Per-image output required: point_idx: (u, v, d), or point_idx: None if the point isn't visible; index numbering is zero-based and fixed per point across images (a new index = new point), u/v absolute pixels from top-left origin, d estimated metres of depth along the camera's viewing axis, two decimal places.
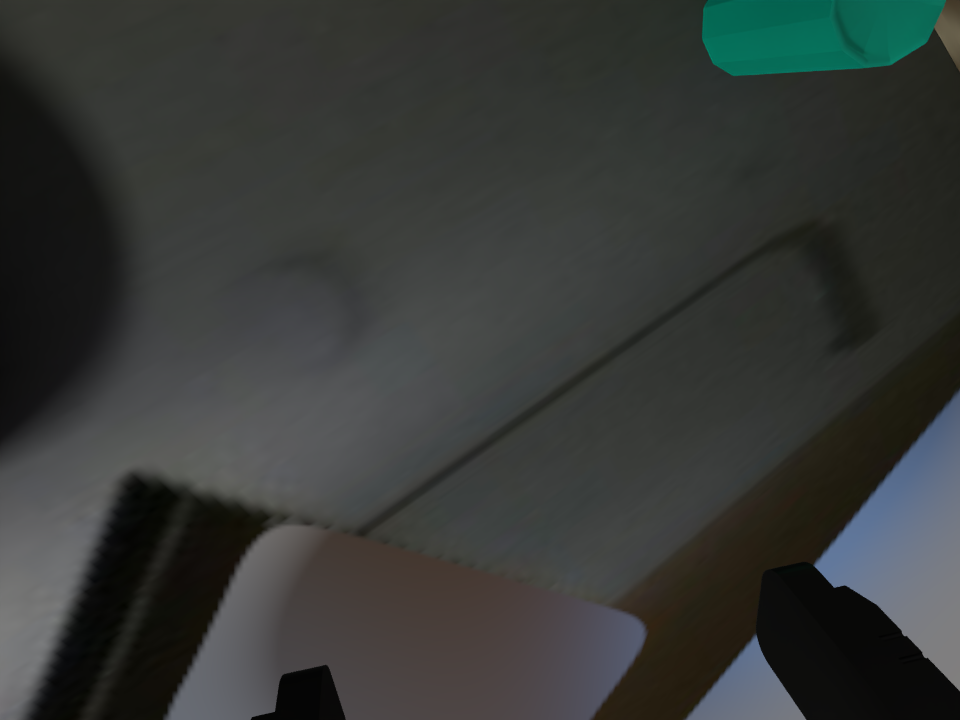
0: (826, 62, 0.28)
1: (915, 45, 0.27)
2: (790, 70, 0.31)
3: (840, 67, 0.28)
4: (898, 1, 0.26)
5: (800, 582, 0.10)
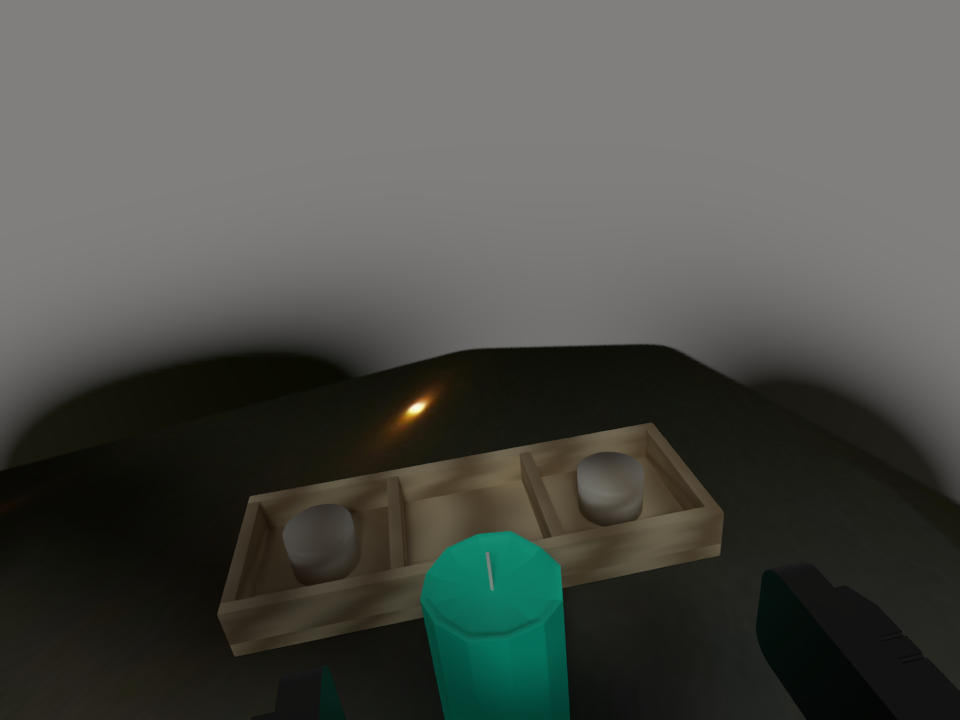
0: (531, 662, 0.24)
1: (556, 575, 0.25)
2: (547, 707, 0.25)
3: (542, 649, 0.24)
4: (508, 580, 0.26)
5: (800, 582, 0.10)
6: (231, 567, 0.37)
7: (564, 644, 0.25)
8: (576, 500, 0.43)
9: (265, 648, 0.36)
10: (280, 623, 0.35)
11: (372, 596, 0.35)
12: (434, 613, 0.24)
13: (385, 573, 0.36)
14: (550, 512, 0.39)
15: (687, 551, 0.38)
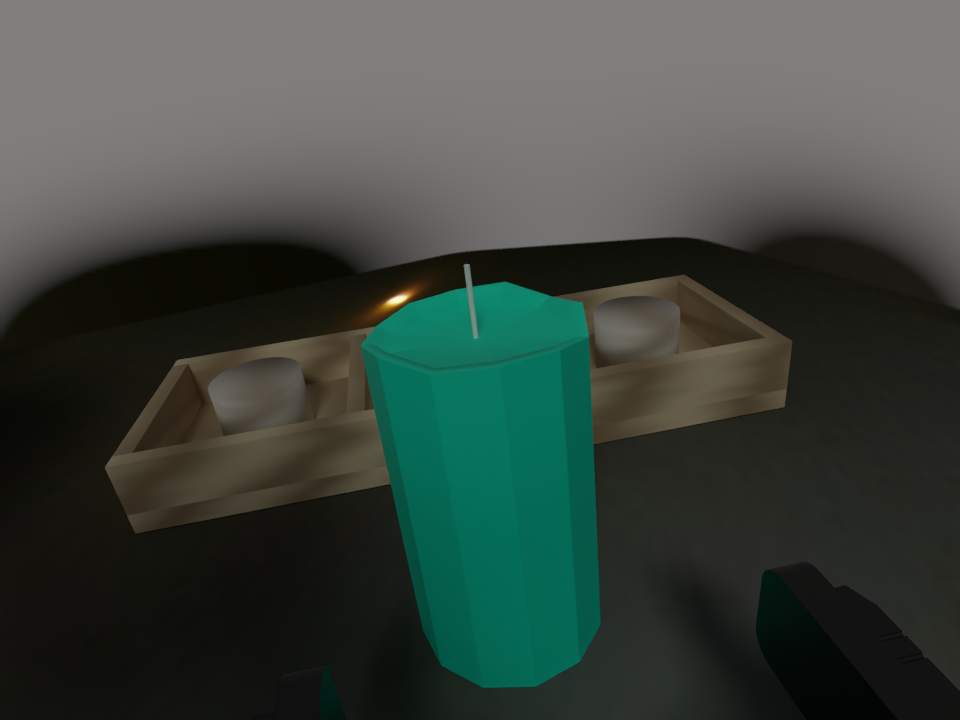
0: (539, 425, 0.14)
1: (577, 311, 0.16)
2: (564, 521, 0.16)
3: (557, 404, 0.14)
4: (502, 328, 0.17)
5: (800, 582, 0.10)
6: (136, 422, 0.28)
7: (590, 423, 0.16)
8: (592, 359, 0.34)
9: (177, 522, 0.26)
10: (195, 484, 0.26)
11: (321, 448, 0.26)
12: (380, 350, 0.15)
13: (339, 417, 0.26)
14: None
15: (742, 399, 0.29)
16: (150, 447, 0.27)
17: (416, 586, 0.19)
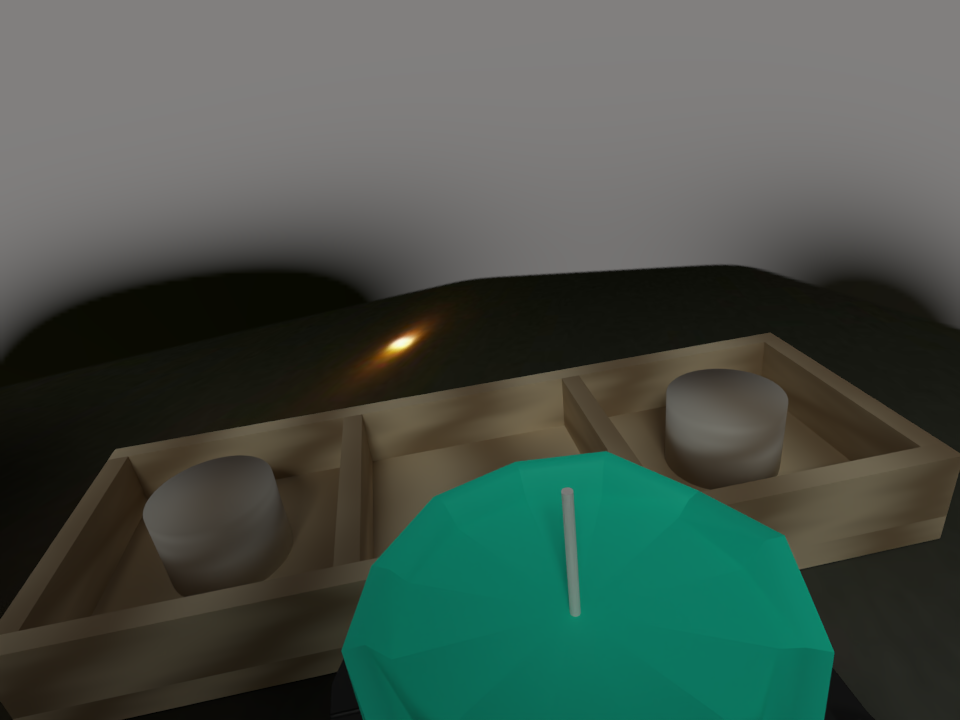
0: None
1: (783, 564, 0.08)
2: None
3: None
4: (623, 585, 0.08)
5: None
6: (39, 565, 0.20)
7: None
8: (660, 451, 0.26)
9: None
10: (112, 675, 0.18)
11: (296, 620, 0.18)
12: (385, 706, 0.07)
13: (322, 573, 0.18)
14: None
15: (886, 531, 0.21)
16: (54, 606, 0.19)
17: None
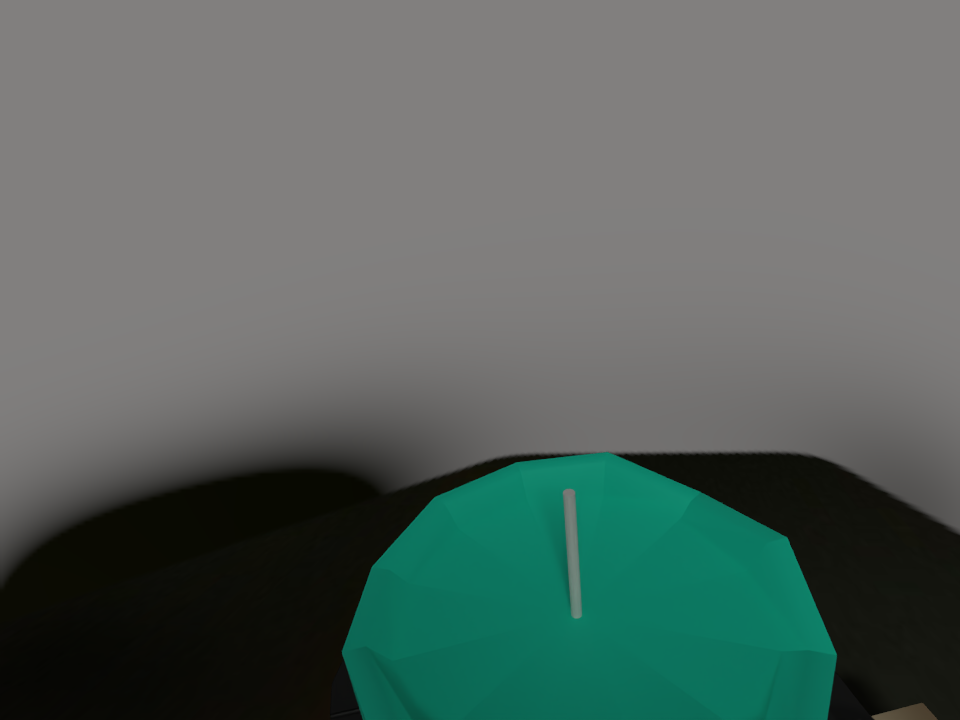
0: None
1: (786, 567, 0.08)
2: None
3: None
4: (625, 587, 0.08)
5: None
6: None
7: None
8: None
9: None
10: None
11: None
12: (385, 708, 0.07)
13: None
14: None
15: None
16: None
17: None
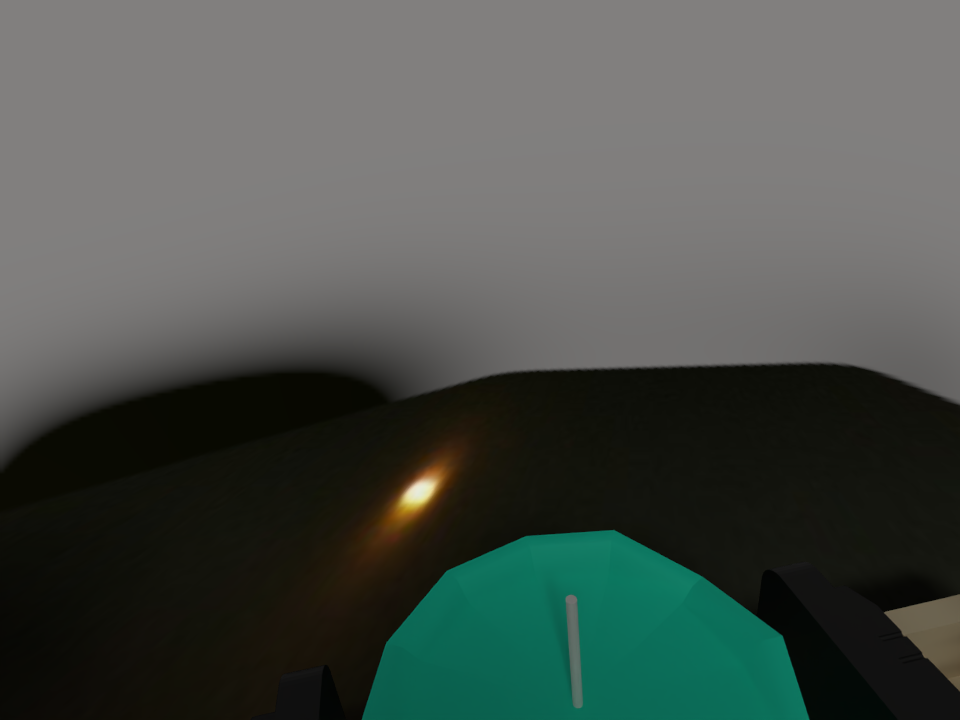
0: None
1: (779, 667, 0.08)
2: None
3: None
4: (624, 675, 0.09)
5: (800, 582, 0.10)
6: None
7: None
8: None
9: None
10: None
11: None
12: None
13: None
14: None
15: None
16: None
17: None
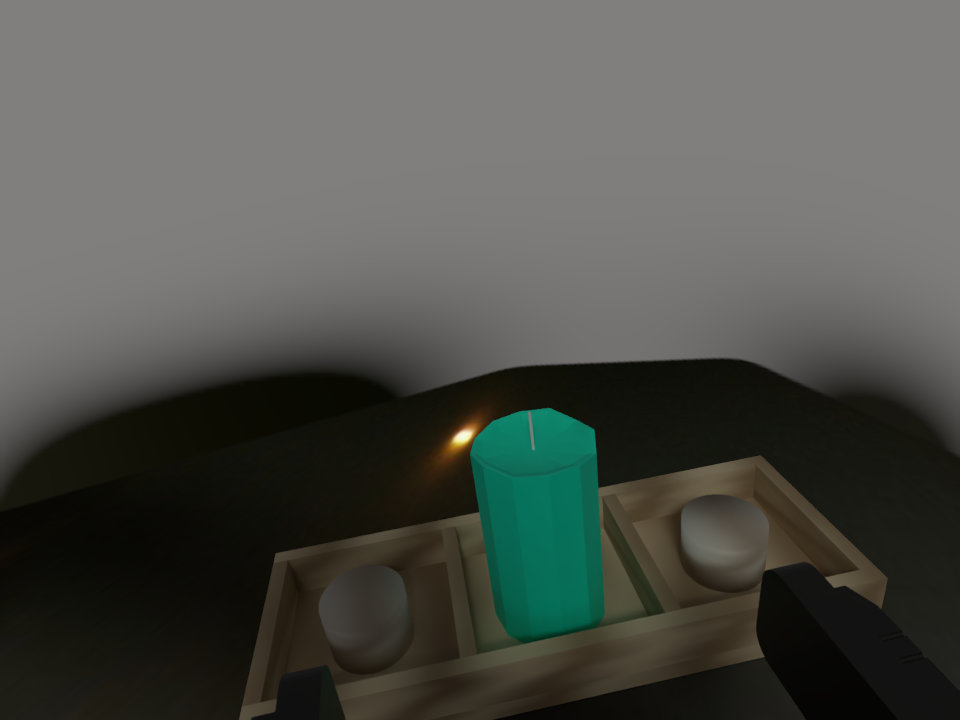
0: (568, 503, 0.27)
1: (591, 436, 0.29)
2: (582, 553, 0.28)
3: (578, 492, 0.27)
4: (548, 443, 0.29)
5: (800, 582, 0.10)
6: (255, 652, 0.29)
7: (597, 498, 0.29)
8: (677, 555, 0.35)
9: None
10: None
11: (437, 694, 0.27)
12: (483, 461, 0.28)
13: (453, 663, 0.28)
14: (656, 577, 0.31)
15: None
16: (270, 682, 0.29)
17: (494, 587, 0.31)
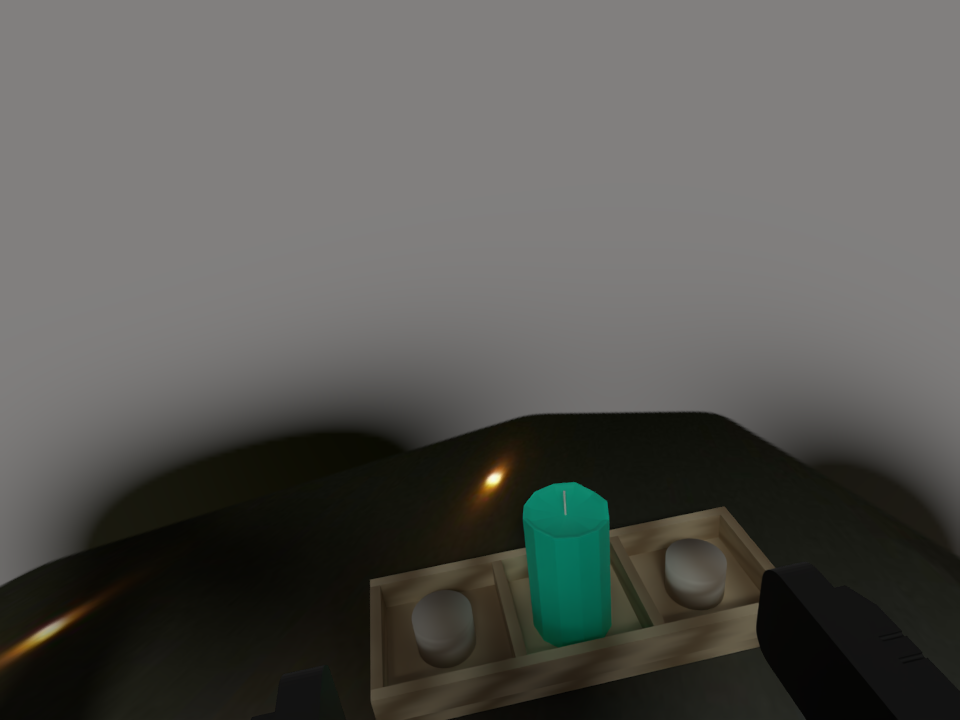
0: (590, 554, 0.40)
1: (605, 506, 0.42)
2: (598, 586, 0.42)
3: (597, 547, 0.40)
4: (575, 510, 0.42)
5: (800, 582, 0.10)
6: (371, 653, 0.43)
7: (609, 548, 0.42)
8: (662, 582, 0.48)
9: None
10: (422, 706, 0.40)
11: (501, 681, 0.41)
12: (533, 524, 0.41)
13: (512, 660, 0.41)
14: (648, 600, 0.44)
15: None
16: (384, 673, 0.42)
17: (534, 607, 0.45)
